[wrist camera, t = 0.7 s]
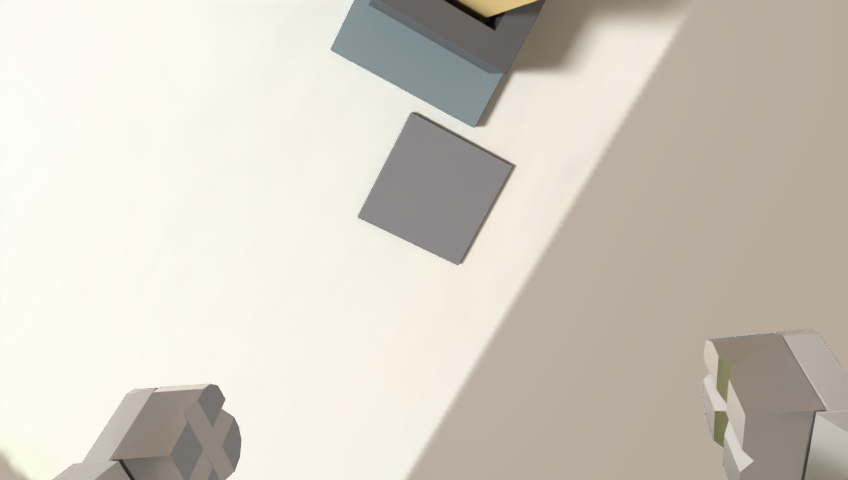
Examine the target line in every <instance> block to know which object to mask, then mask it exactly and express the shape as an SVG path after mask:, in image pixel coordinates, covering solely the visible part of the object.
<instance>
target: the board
mask: <svg viewBox="0 0 848 480" xmlns="http://www.w3.org/2000/svg"><path fill="white" fill-rule="evenodd" d="M369 3H370V0H354V2H353V4H352V6H351V8H350V10H349V12H348V15H347V17H346V19H345V21H344V23H343V25H342V27H341V29H340V31H339V33H338V35H337V37H336V39H335V41H334V44H333V46H332V48H331V51H333V52H335V53H337V54H339V55H341V56H342V57H344V58H346V59H348V60H350V61H352V62H353V63H355V64H357V65H359V66H361V67H363V68H364V69H366V70H368V71H370V72H372V73H374V74H375V75H377V76H379V77H381V78H383V79H385V80H387V81H388V82H390V83H392V84H394V85H396V86H398V87H399V88H401V89H403V90H405V91H407V92H409V93H410V94H412V95H414V96H416V97H418V98H420V99H421V100H423V101H425V102H427V103H429V104H431V105H433V106H434V107H436V108H438V109H440V110H442V111H444V112H445V113H447V114H449V115H451V116H453V117H455V118H456V119H458V120H460V121H462V122H464V123H466V124H467V125H469V126H471V127H474V128H475V126H476V124H477V122H478V120H479V118H480V116H481V115H482V113H483V111H484V109H485V107H486V105H487V103H488V101H489V99H490V98H491V96H492V94H493V92H494V90H495V88H496V86H497V84H498V83H499V81H500V79H501V77H502V75H503V74H501V73H487V72H485V71H484V70H482V69H480V68H478V67H477V66H475V65H473V64H471V63H470V62H468V61H466V60H464V59H463V58H461V57H459V56H457V55H456V54H454V53H452V52H450V51H449V50H447V49H445V48H443V47H442V46H440V45H438V44H436V43H435V42H433V41H431V40H429V39H428V38H426V37H424V36H422V35H421V34H419V33H417V32H415V31H414V30H412V29H410V28H408V27H407V26H405V25H403V24H401V23H400V22H398V21H396V20H394V19H393V18H391V17H389V16H387V15H386V14H384V13H382V12H380V11H379V10H377V9H375V8H373V7H372V6H370V5H369Z"/></svg>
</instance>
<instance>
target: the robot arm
mask: <svg viewBox="0 0 848 480" xmlns="http://www.w3.org/2000/svg"><path fill="white" fill-rule="evenodd" d="M704 361H705V363H706V365H707V368H708V370H709V374H708V375H707V376H706V377H705V378H704V380H703V401H704V410H705V415H706V419H707V423H708V426H709V429H710V432H711V435H712V438H713V440H714V441H715V442H717V443H718V444H719V445H721V446H722V447H723V448H724V452H723V467H724V469H725V472H726V474H727V477H728V479H729V480H848V375H847V373H846V372H845V370H844V369H843V367H842V366H841V364H840V363H839V361H838V360H837V359H836V357H835V356H834V354H833V353H832V351H831V350H830V348H829V347H828V345H827V344H826V342H825V341H824V340H823V338H822V337H821V336H820V334H819V333H818V332H817V331H815V330H814V329H803V330H794V331H784V332H777V333H769V334H758V335H748V336H737V337H727V338H716V339H707V340H706V343H705V347H704ZM224 401H225V398H224V396H223V394H222V392H221V390H220V389H219V387H218V386H217V385H213V384H200V385H185V386H169V387H160V388H147V389H134V390H133V391H131V392H129V393H128V394H126V396H125V397H124V399H123V400H122V402H121V403H120V405H119V407H118V408H117V410H116V411H115V413H114V414H113V416H112V417H111V419H110V420H109V422H108V424H107V425H106V427H105V428H104V430H103V431H102V433H101V434H100V436H99V438H98V439H97V441H96V442H95V444H94V445H93V447H92V448H91V450H90V451H89V453H88V455H87V456H86V458H85V459H84V461H83V462H82V463H78V464H73V465H72V466H70V467H69V468H67V469H66V470H65V471H63V472H62V473H61V474H59V475H58V476H57V477H55V478H54V479H53V480H226V479H227V478H228V477H229V476H230V475H231V474H232V473H233V472H234V471H235V469H236V466H237V463H238V461H239V458H240V449H241V436H240V431H239V427H238V424H237V422H236V420H235V418H234V417H233V416H232V415H230V414H229V413H227V412H226V411H224V410H223V409H222V407H223V404H224Z"/></svg>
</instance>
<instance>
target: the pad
mask: <svg viewBox="0 0 848 480" xmlns="http://www.w3.org/2000/svg"><path fill="white" fill-rule="evenodd" d="M511 168H512V166H511V165H509V164H507V163H505V162H503V161H501V160H499V159H497V158H496V157H494V156H492V155H490V154H488V153H486V152H484V151H483V150H481V149H479V148H477V147H475V146H473V145H471V144H469V143H468V142H466V141H464V140H462V139H460V138H458V137H456V136H455V135H453V134H451V133H449V132H447V131H445V130H443V129H441V128H440V127H438V126H436V125H434V124H432V123H430V122H428V121H427V120H425V119H423V118H421V117H419V116H417V115H415V114H413V113H412V112H411V113H410V115H409V117H408V119H407V121H406V123H405V125H404V127H403V129H402V131H401V133H400V135H399V137H398V139H397V141H396V143H395V145H394V147H393V149H392V151H391V153H390V154H389V156H388V158H387V160H386V162H385V164H384V166H383V168H382V170H381V172H380V174H379V176H378V178H377V180H376V182H375V184H374V186H373V188H372V190H371V192H370V194H369V195H368V197H367V199H366V201H365V203H364V205H363V207H362V209H361V211H360V213H359V215H358V218H360V219H362V220H364V221H367V222H369V223H371V224H373V225H375V226H377V227H379V228H381V229H383V230H385V231H387V232H389V233H392V234H394V235H396V236H398V237H400V238H402V239H404V240H406V241H408V242H410V243H412V244H414V245H417V246H419V247H421V248H423V249H425V250H427V251H429V252H431V253H433V254H435V255H437V256H439V257H442V258H444V259H446V260H448V261H450V262H452V263H454V264H456V265H459V263H460V261H461V259H462V257H463V256H464V254H465V252H466V250H467V248H468V246H469V245H470V243H471V241H472V239H473V237H474V235H475V234H476V232H477V230H478V228H479V226H480V225H481V223H482V221H483V219H484V217H485V215H486V214H487V212H488V210H489V208H490V206H491V204H492V203H493V201H494V199H495V197H496V195H497V193H498V192H499V190H500V188H501V186H502V184H503V183H504V181H505V179H506V177H507V175H508V173H509V172H510V170H511Z"/></svg>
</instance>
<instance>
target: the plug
mask: <svg viewBox="0 0 848 480" xmlns="http://www.w3.org/2000/svg"><path fill="white" fill-rule="evenodd" d="M444 1H446V2H448V3H449V4H451V5H453V6H454V7H456V8H458V9H460V10H461V11H463V12H465V13H466V14H468V15H470V16H471V17H473V18H475V19H476V20H481V19H484V18H487V17H490V16H493V15H496V14H499V13H502V12H505V11H507V10H510V9H513V8H516V7H519V6H522V5H525V4H528V3H531V2H534V1H537V0H444Z"/></svg>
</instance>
